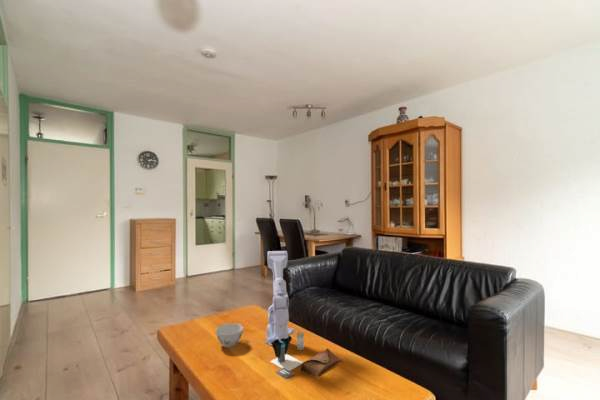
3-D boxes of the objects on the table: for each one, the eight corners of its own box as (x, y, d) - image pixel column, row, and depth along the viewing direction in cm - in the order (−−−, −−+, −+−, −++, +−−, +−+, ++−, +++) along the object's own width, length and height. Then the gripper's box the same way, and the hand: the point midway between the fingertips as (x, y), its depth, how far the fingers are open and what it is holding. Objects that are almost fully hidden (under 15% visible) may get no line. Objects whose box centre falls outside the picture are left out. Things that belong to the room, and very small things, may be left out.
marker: (275, 360, 126) (275, 343, 126) (281, 357, 129) (281, 340, 129) (281, 363, 124) (281, 346, 124) (286, 359, 126) (286, 343, 126)
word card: (276, 372, 118) (276, 371, 118) (283, 368, 121) (283, 367, 121) (286, 378, 114) (286, 377, 114) (293, 374, 116) (293, 373, 116)
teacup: (228, 354, 133) (228, 336, 133) (210, 347, 140) (210, 329, 140) (251, 341, 145) (251, 324, 145) (233, 335, 152) (233, 319, 152)
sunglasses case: (317, 378, 113) (310, 360, 116) (305, 382, 117) (298, 364, 120) (342, 360, 127) (336, 344, 129) (331, 363, 131) (325, 348, 133)
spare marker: (295, 348, 138) (295, 332, 138) (300, 345, 140) (300, 330, 140) (300, 350, 135) (300, 335, 135) (305, 348, 138) (305, 332, 138)
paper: (270, 361, 126) (270, 361, 126) (285, 354, 132) (285, 353, 132) (287, 372, 118) (287, 371, 118) (303, 363, 125) (303, 362, 125)
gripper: (273, 331, 119) (274, 365, 118) (299, 320, 129) (299, 352, 129) (262, 326, 124) (263, 359, 123) (288, 316, 134) (288, 346, 134)
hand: (280, 355), depth 126 cm, fingers closed on marker, 3 cm apart
